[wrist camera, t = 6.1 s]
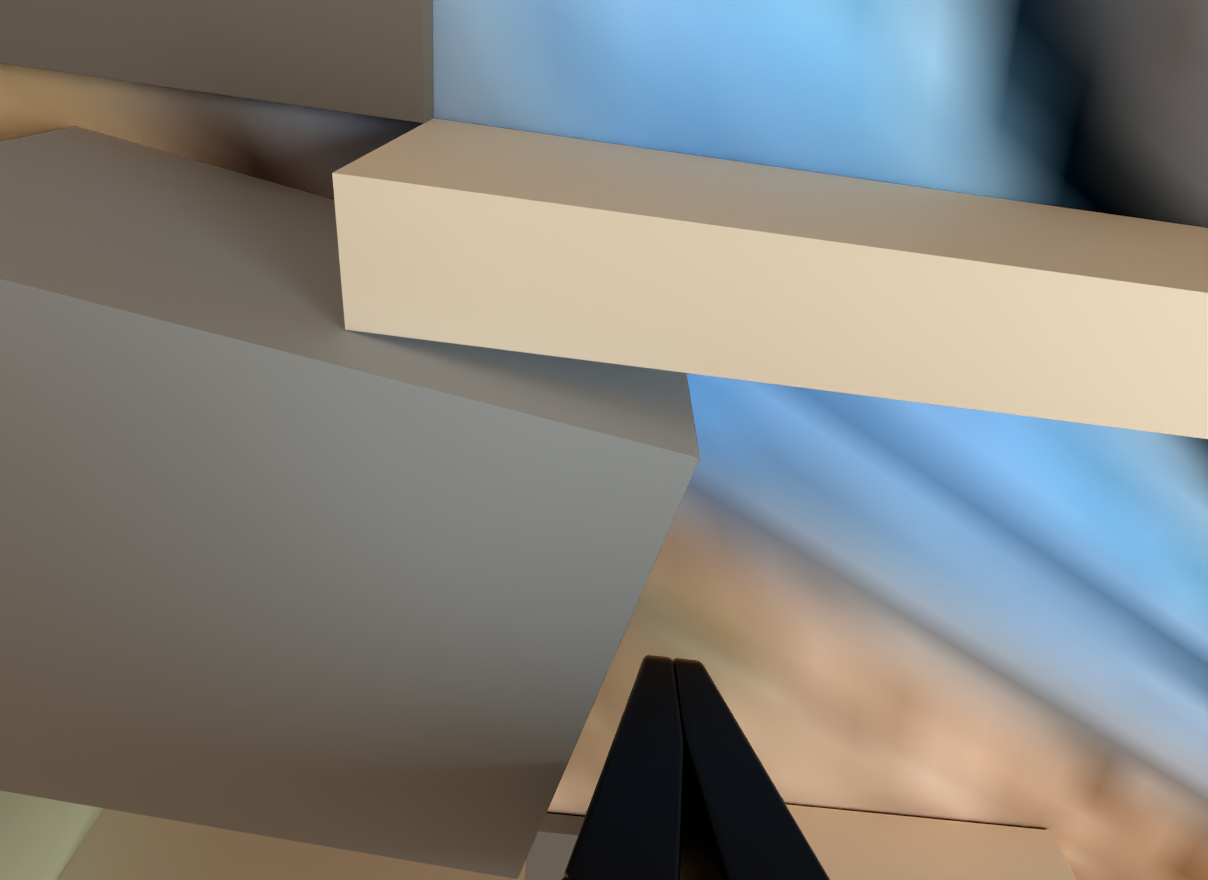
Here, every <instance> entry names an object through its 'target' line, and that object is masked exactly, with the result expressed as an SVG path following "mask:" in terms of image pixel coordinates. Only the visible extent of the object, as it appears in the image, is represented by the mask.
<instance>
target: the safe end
mask: <svg viewBox="0 0 1208 880" xmlns="http://www.w3.org/2000/svg"><path fill="white" fill-rule="evenodd" d="M103 809H104V808H99V807H93V806H87V805H81V804H76V803H70V802H64V801H58V800H52V799H46V798H41V797H35V796H29V795H23V794H17V793H11V792H6V791H0V880H57V879H58V877H59V876H60V874H61V873H62V871H63V870H64V868H65V867H66V865H67V864H68V862H69V861H70V859H71V858H72V856H73V855H74V853H75V851H76V850H77V848H78V847H79V845H80V844H81V842H82V841H83V839H84V838H85V836H86V835H87V833H88V832H89V830H90V829H91V827H92V826H93V824H94V823H95V821H96V819H97V818H98V816H99V815H100V813H101V812H102V810H103Z"/></svg>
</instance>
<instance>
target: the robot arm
mask: <svg viewBox="0 0 1208 880" xmlns="http://www.w3.org/2000/svg"><path fill="white" fill-rule="evenodd" d="M562 880H830V878H829V877H828V875H827V873H826V872H825V870H824V868H823V867H822V865H821V863H820V862H819V860H818V858H817V856H816V855H815V853H814V851H813V850H812V848H811V846H810V845H809V843H808V841H807V840H806V838H805V836H804V835H803V833H802V831H801V829H800V828H799V826H798V824H797V823H796V821H795V819H794V818H793V816H792V814H791V813H790V811H789V809H788V807H787V806H786V804H785V802H784V801H783V799H782V797H781V796H780V794H779V792H778V791H777V789H776V787H775V785H774V784H773V782H772V780H771V779H770V777H769V775H768V774H767V772H766V770H765V769H764V767H763V765H762V763H761V762H760V760H759V758H758V757H757V755H756V753H755V752H754V750H753V748H752V747H751V745H750V743H749V742H748V740H747V738H746V736H745V735H744V733H743V731H742V730H741V728H740V726H739V725H738V723H737V721H736V720H735V718H734V716H733V714H732V713H731V711H730V709H729V708H728V706H727V704H726V703H725V701H724V699H723V698H722V696H721V694H720V692H719V691H718V689H717V687H716V686H715V684H714V682H713V681H712V679H711V677H710V676H709V674H708V672H707V670H706V669H705V667H704V666H703V664H702V663H701V662H699V661H696V660H688V659H679V658H676V659H673V660H672V659H671V658H668V657H661V656H652V655H647V656H645V657H644V659H643V661H642V664H641V667H640V669H639V672H638V675H637V677H636V680H635V683H634V685H633V688H632V691H631V694H630V696H629V699H628V702H627V704H626V707H625V710H624V713H623V715H622V718H621V721H620V723H619V726H618V729H617V732H616V734H615V737H614V740H613V742H612V745H611V748H610V751H609V753H608V756H607V759H606V761H605V764H604V767H603V769H602V772H601V775H600V778H599V780H598V783H597V786H596V788H595V791H594V794H593V797H592V799H591V802H590V805H589V807H588V810H587V813H586V816H585V818H584V821H583V824H582V826H581V829H580V832H579V834H578V837H577V840H576V843H575V845H574V848H573V851H572V853H571V856H570V859H569V862H568V864H567V867H566V870H565V873H564V878H562Z"/></svg>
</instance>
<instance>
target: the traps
mask: <svg viewBox="0 0 1208 880" xmlns="http://www.w3.org/2000/svg"><path fill="white" fill-rule="evenodd" d="M0 63H1V64H8V65H15V66H22V67H30V68H37V69H44V70H51V71H58V72H65V73H72V74H79V75H86V76H93V77H100V78H107V79H114V80H122V81H129V82H136V83H143V84H150V85H157V86H164V87H171V88H178V89H185V90H192V91H199V92H207V93H214V94H221V95H228V96H235V97H242V98H249V99H256V100H263V101H270V102H277V103H284V104H291V105H299V106H306V107H313V108H320V109H327V110H334V111H341V112H348V113H355V114H362V115H369V116H376V117H383V118H391V119H398V120H405V121H412V122H419V123H426V122H428V121H429V120H431V119H433V118H434V116H433V0H0ZM584 818H585V817H580V816H570V815H559V814H549V813H546V815H545V817H544V819H543V822H542V824H541V826H540V829H539V831H538V833H537V835H536V838H535V840H534V842H533V845H532V847H531V849H530V852H529V854H528V856H527V859H526V868H525V876H524V880H562V878H564V873H565V870H566V867H567V864H568V862H569V859H570V856H571V853H572V851H573V848H574V845H575V843H576V840H577V837H578V834H579V832H580V829H581V826H582V824H583V821H584Z"/></svg>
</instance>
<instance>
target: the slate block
mask: <svg viewBox="0 0 1208 880" xmlns="http://www.w3.org/2000/svg"><path fill="white" fill-rule="evenodd" d="M699 459H700V455H699V449H698V443H697V436H696V430H695V424H694V418H693V412H692V406H691V399H690V393H689V387H688V381H687V375H686V373H683V372H675V371H668V370H660V369H652V368H644V367H636V366H628V365H620V364H612V363H604V362H596V361H589V360H581V359H573V358H565V357H557V356H549V355H541V354H533V353H525V352H518V351H510V350H502V349H494V348H486V347H478V346H470V345H462V344H454V343H447V342H439V341H431V340H423V339H415V338H407V337H399V336H391V335H383V334H376V333H368V332H360V331H352V330H345V322H344V310H343V298H342V286H341V274H340V262H339V249H338V237H337V225H336V213H335V201H334V199H330V198H327V197H323V196H320V195H316V194H312V193H309V192H305V191H302V190H298V189H295V188H291V187H288V186H284V185H281V184H277V183H274V182H270V181H267V180H263V179H260V178H256V177H253V176H249V175H245V174H242V173H238V172H235V171H231V170H228V169H224V168H221V167H217V166H214V165H210V164H207V163H203V162H200V161H196V160H193V159H189V158H186V157H182V156H178V155H175V154H171V153H168V152H164V151H161V150H157V149H154V148H150V147H147V146H143V145H140V144H136V143H133V142H129V141H126V140H122V139H119V138H115V137H112V136H108V135H104V134H101V133H97V132H94V131H90V130H87V129H83V128H80V127H76V126H74V127H69V128H64V129H59V130H54V131H49V132H44V133H39V134H35V135H30V136H25V137H20V138H15V139H10V140H5V141H0V791H6V792H11V793H17V794H23V795H29V796H35V797H41V798H46V799H52V800H58V801H64V802H70V803H76V804H81V805H87V806H93V807H99V808H105V809H111V810H116V811H122V812H128V813H134V814H140V815H146V816H151V817H157V818H163V819H169V820H175V821H181V822H186V823H192V824H198V825H204V826H210V827H216V828H221V829H227V830H233V831H239V832H245V833H251V834H256V835H262V836H268V837H274V838H280V839H286V840H291V841H297V842H303V843H309V844H315V845H321V846H326V847H332V848H338V849H344V850H350V851H356V852H361V853H367V854H373V855H379V856H385V857H390V858H396V859H402V860H408V861H414V862H420V863H425V864H431V865H437V866H443V867H449V868H455V869H460V870H466V871H472V872H478V873H484V874H490V875H495V876H501V877H507V878H513V879H518V877H519V875H520V872H521V870H522V868H523V865H524V863H525V861H526V859H527V856H528V854H529V852H530V849H531V847H532V845H533V842H534V840H535V838H536V835H537V833H538V831H539V829H540V826H541V824H542V822H543V819H544V817H545V815H546V812H547V810H548V808H549V805H550V803H551V801H552V799H553V796H554V794H555V792H556V789H557V787H558V785H559V782H560V780H561V778H562V775H563V773H564V771H565V769H566V766H567V764H568V762H569V759H570V757H571V755H572V752H573V750H574V748H575V745H576V743H577V741H578V739H579V736H580V734H581V732H582V729H583V727H584V725H585V722H586V720H587V718H588V715H589V713H590V711H591V709H592V706H593V704H594V702H595V699H596V697H597V695H598V692H599V690H600V688H601V685H602V683H603V681H604V679H605V676H606V674H607V672H608V669H609V667H610V665H611V662H612V660H613V658H614V655H615V653H616V651H617V649H618V646H619V644H620V642H621V639H622V637H623V635H624V632H625V630H626V628H627V625H628V623H629V621H630V619H631V616H632V614H633V612H634V609H635V607H636V605H637V602H638V600H639V598H640V595H641V593H642V591H643V589H644V586H645V584H646V582H647V579H648V577H649V575H650V572H651V570H652V568H653V565H654V563H655V561H656V559H657V556H658V554H659V552H660V549H661V547H662V545H663V542H664V540H665V538H666V535H667V533H668V531H669V529H670V526H671V524H672V522H673V519H674V517H675V515H676V512H677V510H678V508H679V505H680V503H681V501H682V499H683V496H684V494H685V492H686V489H687V487H688V485H689V482H690V480H691V478H692V475H693V473H694V471H695V469H696V466H697V464H698V462H699Z"/></svg>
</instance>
